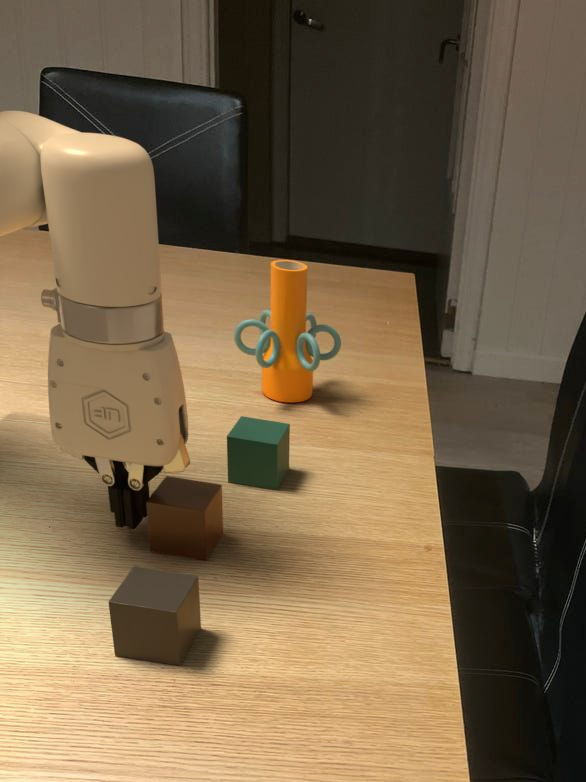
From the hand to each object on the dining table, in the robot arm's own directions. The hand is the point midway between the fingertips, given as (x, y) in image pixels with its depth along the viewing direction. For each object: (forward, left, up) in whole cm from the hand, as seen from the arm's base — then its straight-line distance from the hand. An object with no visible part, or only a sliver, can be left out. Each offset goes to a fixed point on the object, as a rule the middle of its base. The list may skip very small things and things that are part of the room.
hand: (131, 520), depth 84 cm
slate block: (-4, -16, -1) cm, 16 cm away
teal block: (+16, +5, -1) cm, 16 cm away
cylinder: (+29, +22, -2) cm, 36 cm away
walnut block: (+4, -3, -1) cm, 5 cm away
